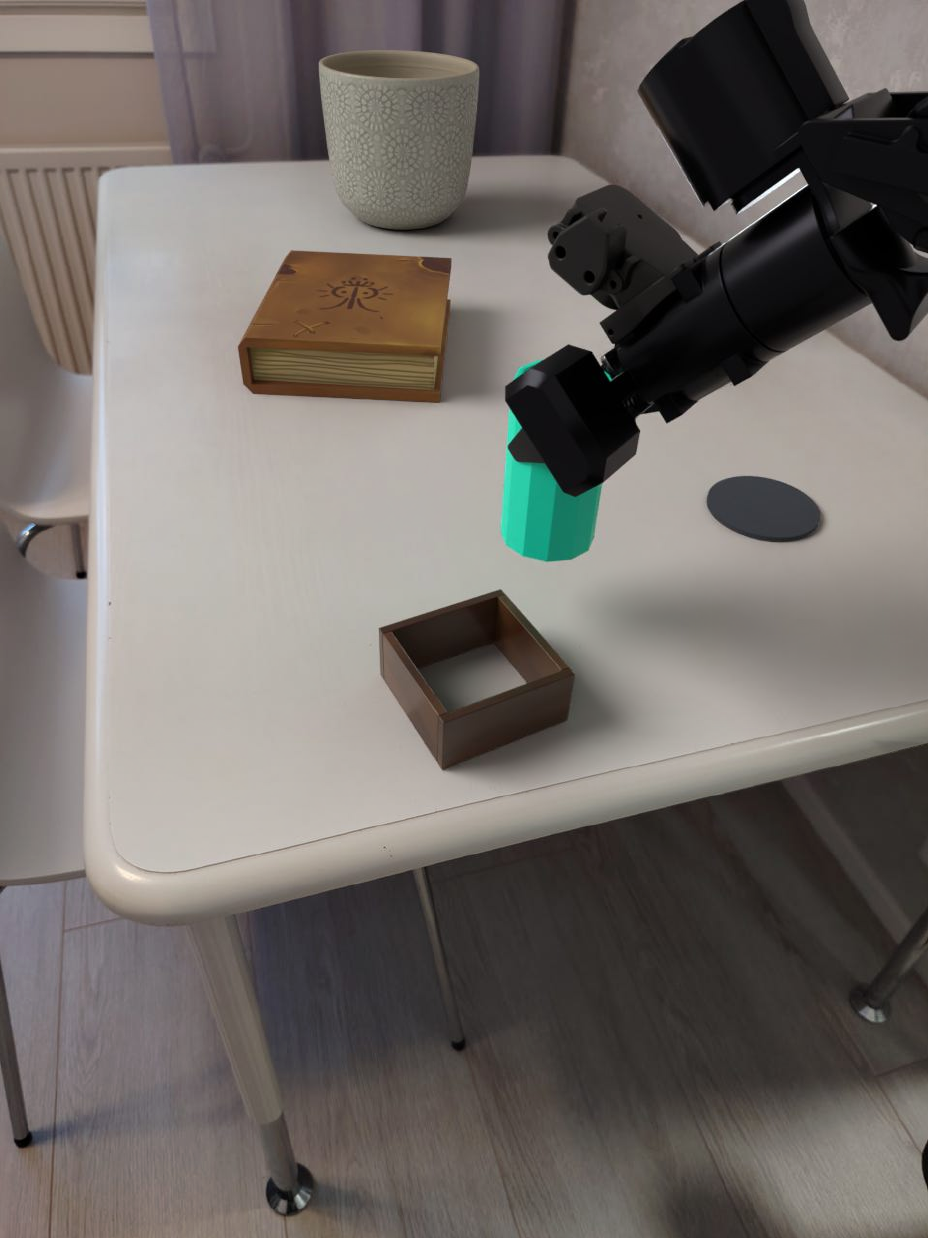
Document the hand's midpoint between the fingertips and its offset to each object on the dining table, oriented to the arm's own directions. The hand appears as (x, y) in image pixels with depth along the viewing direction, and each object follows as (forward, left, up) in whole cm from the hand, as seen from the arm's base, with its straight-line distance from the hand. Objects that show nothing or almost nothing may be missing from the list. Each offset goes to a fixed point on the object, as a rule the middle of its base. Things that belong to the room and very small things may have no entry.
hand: (537, 435), depth 52 cm
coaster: (+2, -24, -13) cm, 28 cm away
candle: (-1, -1, -7) cm, 7 cm away
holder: (-6, +7, -13) cm, 16 cm away
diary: (+44, -6, -13) cm, 46 cm away
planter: (+82, -29, -13) cm, 88 cm away
